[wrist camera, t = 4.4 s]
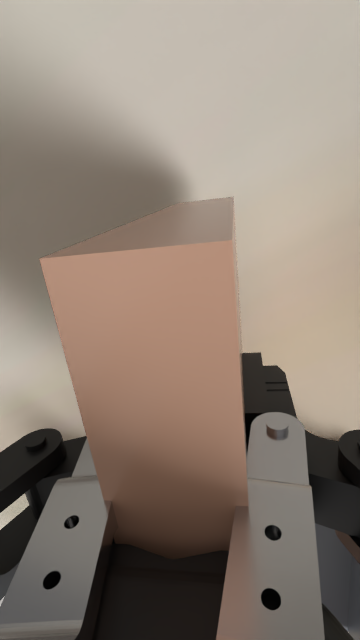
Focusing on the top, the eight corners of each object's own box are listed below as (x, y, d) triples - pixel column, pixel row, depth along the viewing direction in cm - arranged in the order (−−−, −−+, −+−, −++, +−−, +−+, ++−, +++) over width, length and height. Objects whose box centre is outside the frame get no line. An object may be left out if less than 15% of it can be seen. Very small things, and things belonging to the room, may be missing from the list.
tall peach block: (177, 203, 15) (39, 257, 4) (233, 196, 15) (232, 240, 4) (202, 421, 20) (162, 721, 9) (246, 420, 19) (263, 738, 8)
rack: (110, 446, 24) (78, 515, 19) (369, 445, 21) (412, 526, 16) (147, 594, 30) (129, 678, 25) (357, 609, 27) (386, 708, 22)
